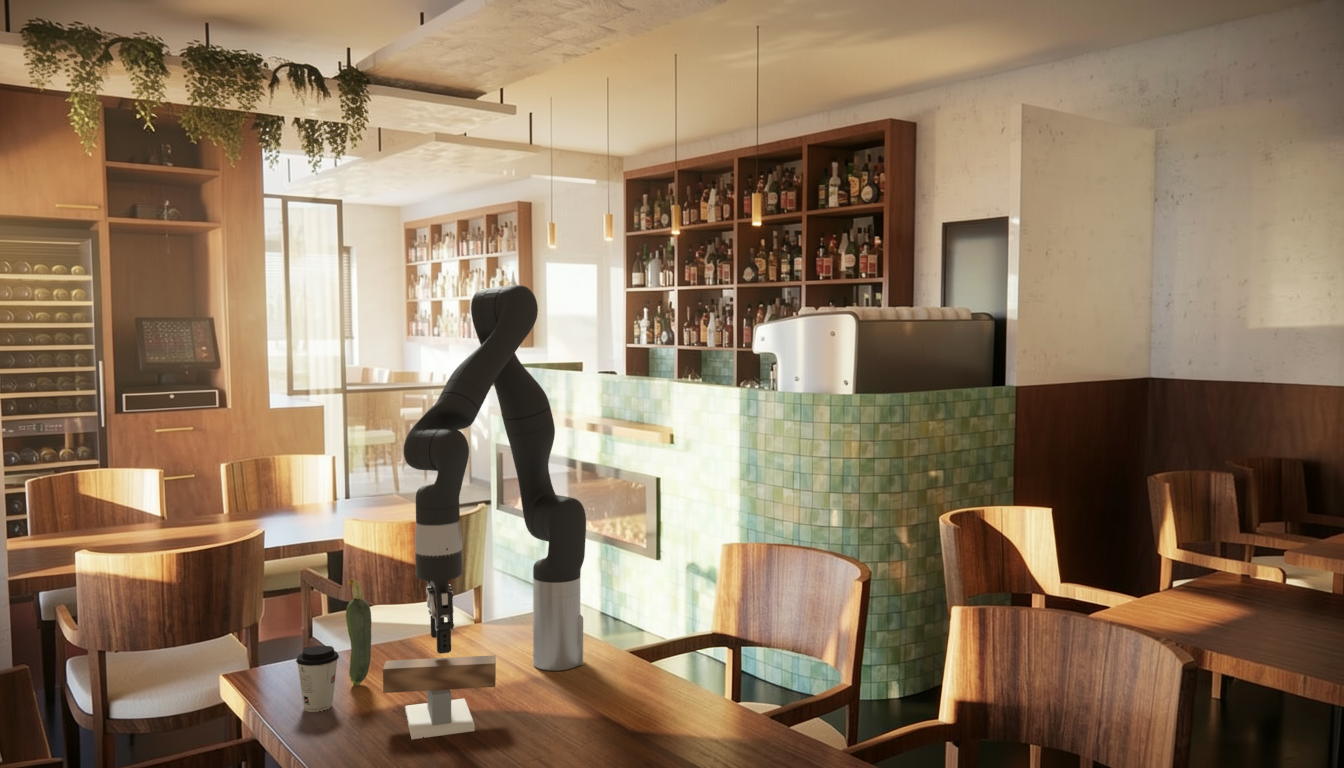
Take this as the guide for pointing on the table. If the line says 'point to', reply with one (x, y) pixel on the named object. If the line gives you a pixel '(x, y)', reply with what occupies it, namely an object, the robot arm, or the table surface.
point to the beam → (439, 674)
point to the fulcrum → (439, 716)
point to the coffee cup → (317, 677)
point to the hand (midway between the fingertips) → (440, 644)
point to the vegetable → (359, 633)
